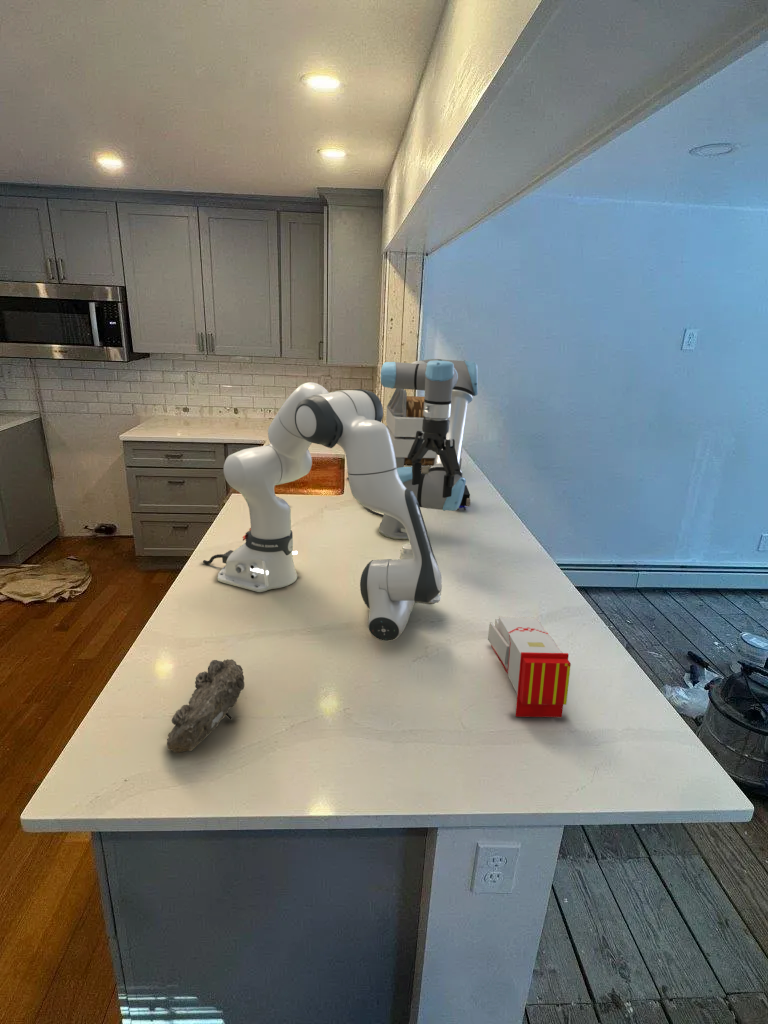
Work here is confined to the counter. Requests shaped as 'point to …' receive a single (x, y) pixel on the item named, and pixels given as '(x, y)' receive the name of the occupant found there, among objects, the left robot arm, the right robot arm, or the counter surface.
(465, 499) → the figurine character
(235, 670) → the fossil
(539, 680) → the toy
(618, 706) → the counter surface
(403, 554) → the bottle
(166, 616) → the counter surface
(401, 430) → the grey slatted crate
